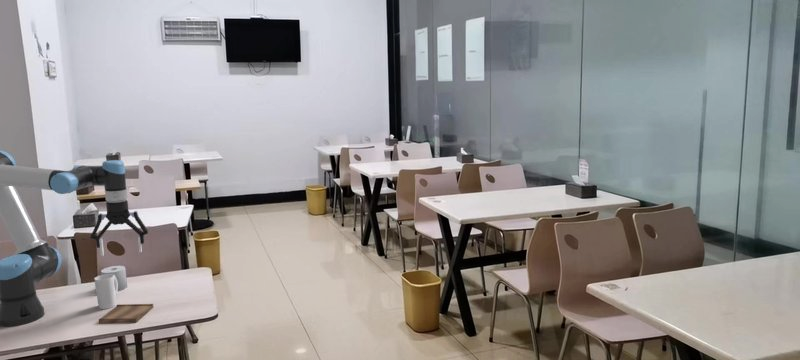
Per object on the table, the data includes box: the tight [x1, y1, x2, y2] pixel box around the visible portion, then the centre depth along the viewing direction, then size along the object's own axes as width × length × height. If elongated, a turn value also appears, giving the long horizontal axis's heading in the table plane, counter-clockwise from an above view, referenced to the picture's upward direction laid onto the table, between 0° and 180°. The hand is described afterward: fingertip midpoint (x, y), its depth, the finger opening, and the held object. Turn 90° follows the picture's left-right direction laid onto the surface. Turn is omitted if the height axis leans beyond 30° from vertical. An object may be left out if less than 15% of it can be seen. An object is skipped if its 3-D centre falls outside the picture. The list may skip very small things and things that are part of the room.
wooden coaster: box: [98, 303, 154, 324], centre depth 220 cm, size 14×14×2 cm
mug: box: [93, 274, 119, 310], centre depth 231 cm, size 10×7×12 cm, turn 166°
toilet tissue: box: [100, 265, 128, 292], centre depth 251 cm, size 9×13×9 cm
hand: (121, 253), depth 228 cm, fingers open, 13 cm apart
